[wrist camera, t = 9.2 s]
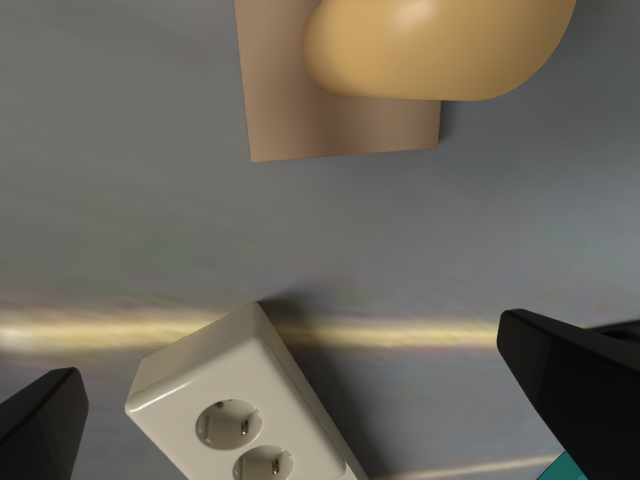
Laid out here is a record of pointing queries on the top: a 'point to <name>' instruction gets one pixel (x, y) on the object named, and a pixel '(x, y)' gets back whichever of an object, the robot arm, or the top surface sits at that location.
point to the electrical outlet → (237, 407)
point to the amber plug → (430, 46)
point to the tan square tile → (314, 96)
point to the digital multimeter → (563, 470)
